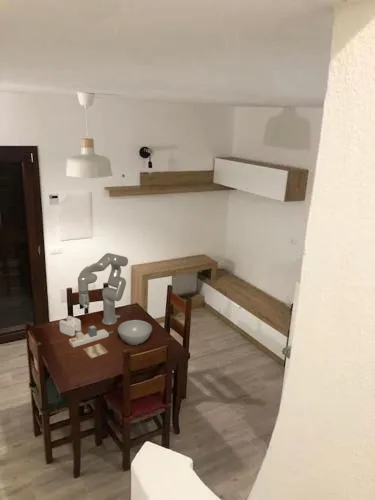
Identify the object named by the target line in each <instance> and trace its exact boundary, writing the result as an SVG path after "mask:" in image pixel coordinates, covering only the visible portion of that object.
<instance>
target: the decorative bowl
mask: <svg viewBox="0 0 375 500" xmlns="http://www.w3.org/2000/svg"><path fill="white" fill-rule="evenodd" d="M117 331H118V334H119V336H120V338H121V339H122V341H123V342H125V343H127V344H128V345H130V346H133V345H136V346H139V345H138V344H140V343H141V344H143V343H144V342H146V341H147V340H148V338H149V337H150V336H151V334H152V331H153V326H152V324H151V323H149V322H147V321H144V320H140V319H133V320H132V319H131V320H126V321H124V322H121V323H120V324H119V325H118V327H117ZM141 344H140V345H141Z"/></svg>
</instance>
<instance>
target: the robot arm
mask: <svg viewBox="0 0 375 500" xmlns="http://www.w3.org/2000/svg"><path fill="white" fill-rule="evenodd" d="M128 263H129V259H128V257H126V256H123V255H120V254H115V253H112V252H111V253H110V252H107V253H105V254H104V255H103V256H101V257H100V259H99V260H97V262H94V263H92V264H89V265H87V266H85V267H84V268H83V269H82V270H81V271H80V273H79V276H78V277H77V288H78V289H77V292H78V302H79V310H83V309H84V315H87V314H89V312H90V310H89V309H90V297H89V285H90V284H94V283H96V282H97V280H98V276H97V274H96V273H98V272H103V271H104V272H105V270H106V269H107V268H108V267H109V266H110V267H111V269H110V273H109V276H108V280H107V285H108V286H109V287H108V286H107V287H104V288H103V289H102V291H101V292H102V293H101V296H102V299H103V300H102V301H103V318H102V320H101V323H102V324H104V325H107V326H110V325H115V324H116V323H117V322H118V319H119V318H121V315H120V314H119V315H118V314H116V302H120V301H121V300H122V298H123V295H124V292H125V289H126V286H127V281H126V279H125V278H124V277H122V276H121V274H122V267H123V268H124V267H126V266H127V265H128Z"/></svg>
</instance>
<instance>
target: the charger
mask: <svg viewBox="0 0 375 500" xmlns="http://www.w3.org/2000/svg"><path fill="white" fill-rule="evenodd" d="M87 330H88V331H87V332H88V335H89V336H90V337H93V336H97V331H98V330H97V327H96V325H89V326H88V327H87Z"/></svg>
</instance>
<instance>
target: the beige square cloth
mask: <svg viewBox="0 0 375 500" xmlns="http://www.w3.org/2000/svg"><path fill="white" fill-rule="evenodd" d="M82 350H83V352H85V354H86V355H87V356H88V357H89V358H90V359H93V358H97V357H99V356H102V354H103V355H105V354H108V353H109V351H108V350H107V348H105V346H103V344H101V343H97V344H94V345H91V346H87V347H85V348H82Z"/></svg>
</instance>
